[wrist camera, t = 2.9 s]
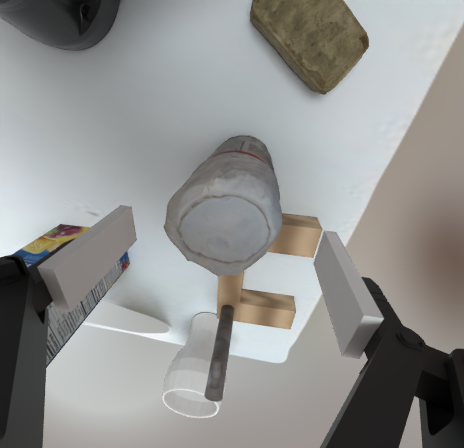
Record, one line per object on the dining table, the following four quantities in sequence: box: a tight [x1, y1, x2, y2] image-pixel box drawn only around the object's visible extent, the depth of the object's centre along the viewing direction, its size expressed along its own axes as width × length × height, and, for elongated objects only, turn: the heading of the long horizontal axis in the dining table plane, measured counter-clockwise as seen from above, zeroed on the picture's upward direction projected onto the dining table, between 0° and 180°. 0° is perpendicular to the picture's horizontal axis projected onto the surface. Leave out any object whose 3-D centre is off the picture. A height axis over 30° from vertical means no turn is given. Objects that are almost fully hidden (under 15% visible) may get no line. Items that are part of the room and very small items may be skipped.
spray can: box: [164, 136, 282, 276], centre depth 23 cm, size 8×8×20 cm
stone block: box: [250, 0, 369, 94], centre depth 22 cm, size 6×12×5 cm, turn 50°
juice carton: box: [12, 224, 130, 368], centre depth 32 cm, size 12×8×24 cm, turn 87°
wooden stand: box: [204, 214, 322, 402], centre depth 32 cm, size 14×22×18 cm, turn 176°
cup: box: [162, 313, 226, 418], centre depth 43 cm, size 11×11×15 cm
